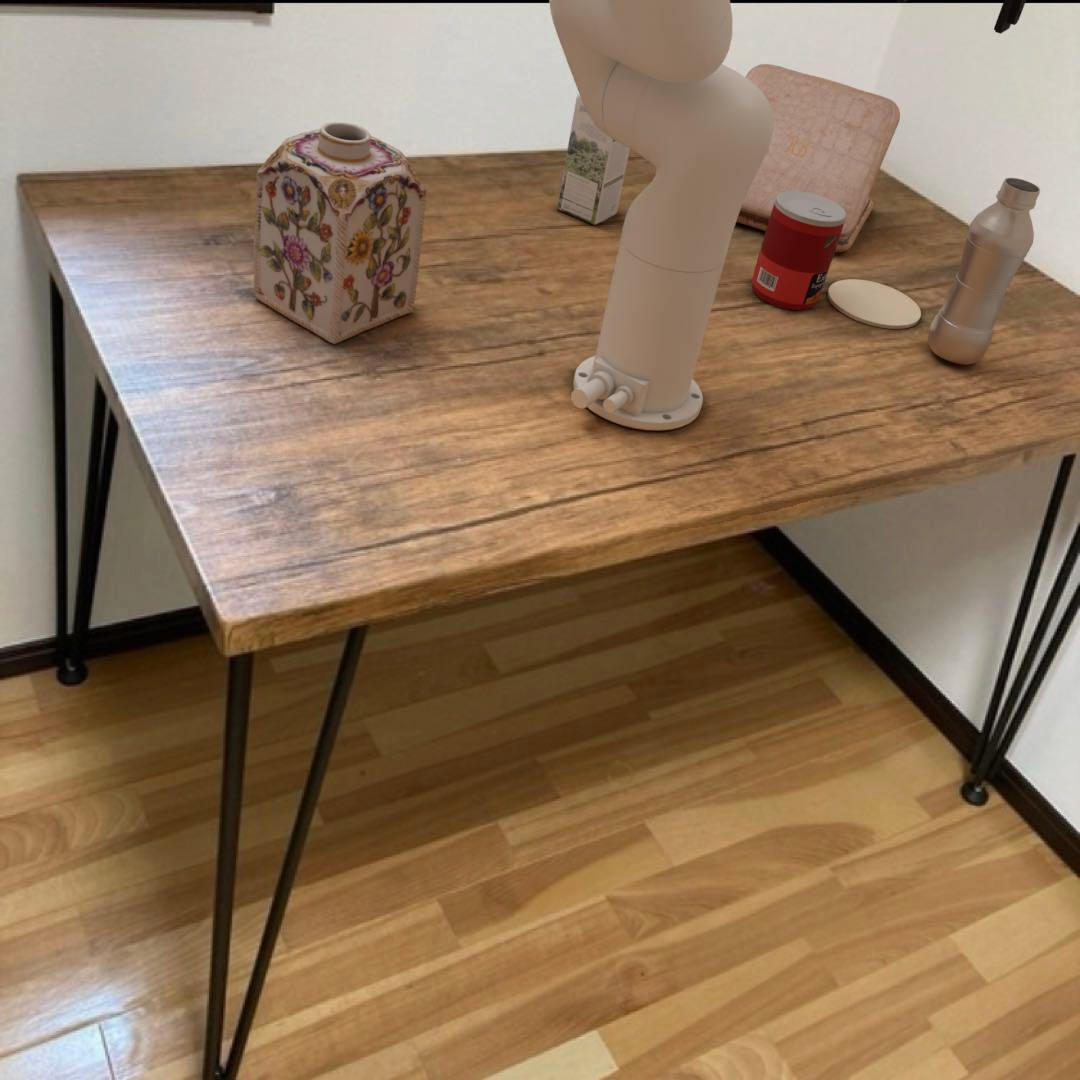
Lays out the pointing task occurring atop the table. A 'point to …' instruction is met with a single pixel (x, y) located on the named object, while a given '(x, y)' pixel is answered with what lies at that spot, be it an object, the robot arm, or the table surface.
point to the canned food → (797, 249)
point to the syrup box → (591, 170)
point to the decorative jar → (338, 231)
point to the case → (820, 145)
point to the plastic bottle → (985, 274)
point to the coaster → (874, 304)
